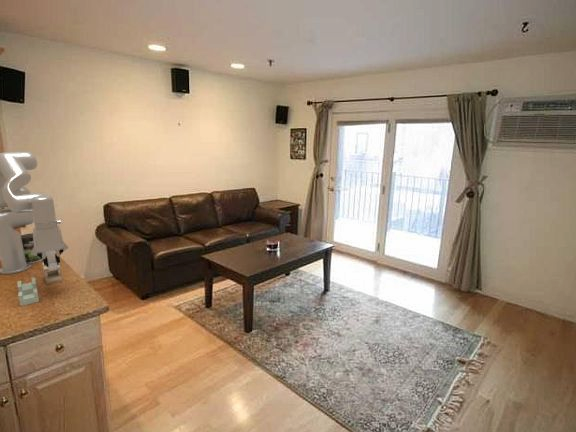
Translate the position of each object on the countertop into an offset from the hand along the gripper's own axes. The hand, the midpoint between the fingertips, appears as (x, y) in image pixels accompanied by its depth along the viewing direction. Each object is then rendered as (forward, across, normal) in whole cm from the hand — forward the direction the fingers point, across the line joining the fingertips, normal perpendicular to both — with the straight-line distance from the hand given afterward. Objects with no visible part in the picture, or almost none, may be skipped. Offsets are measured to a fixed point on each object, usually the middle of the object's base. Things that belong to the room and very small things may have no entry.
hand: (52, 265), depth 142 cm
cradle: (+14, +10, -4) cm, 17 cm away
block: (+14, 0, -18) cm, 22 cm away
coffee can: (+15, +6, -53) cm, 55 cm away
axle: (0, 0, -4) cm, 4 cm away
